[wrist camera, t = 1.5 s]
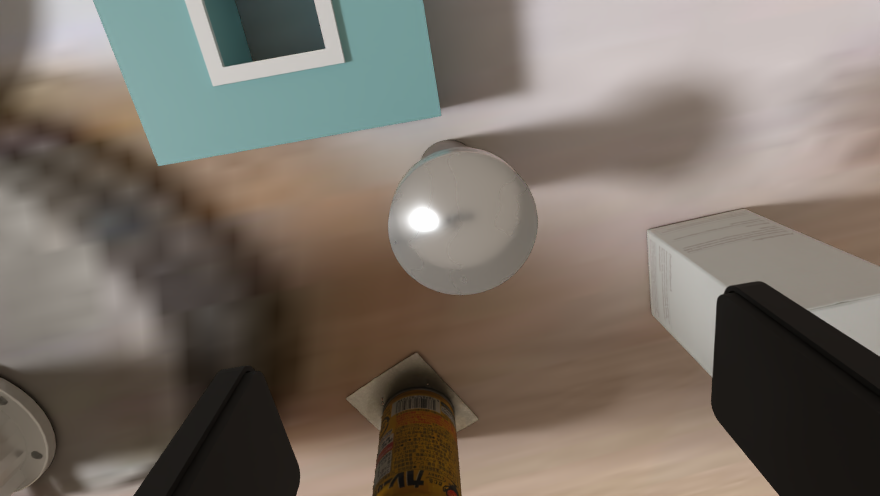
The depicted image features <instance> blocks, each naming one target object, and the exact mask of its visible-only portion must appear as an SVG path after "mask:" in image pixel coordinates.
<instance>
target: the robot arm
mask: <svg viewBox="0 0 880 496" xmlns="http://www.w3.org/2000/svg"><path fill="white" fill-rule="evenodd" d="M711 405H712V409H713V412H714V414H715V416H716V418H717V420H718V421H719V423H720V424H721V425H722V426H723V427H724V429H725V430H726V431H727V432H728V433H729V435H730V436H731V437H732V438H733V440H734V441H735V442H736V443H737V444H738V446H739V447H740V448H741V449H742V451H743V452H744V453H745V454H746V455H747V457H748V458H749V459H750V460H751V462H752V463H753V464H754V465H755V466H756V468H757V469H758V470H759V471H760V473H761V474H762V475H763V476H764V477H765V479H766V480H767V481H768V482H769V483H770V485H771V486H772V487H773V488H774V490H775V491H776V492H777V493H778V494H779V496H880V356H878V355H877V354H875V353H874V352H872V351H871V350H869V349H867V348H866V347H864V346H863V345H861V344H860V343H858V342H857V341H855V340H853V339H852V338H850V337H849V336H847V335H846V334H844V333H842V332H841V331H839V330H838V329H836V328H835V327H833V326H832V325H830V324H828V323H827V322H825V321H824V320H822V319H821V318H819V317H818V316H816V315H814V314H813V313H811V312H810V311H808V310H807V309H805V308H804V307H802V306H800V305H799V304H797V303H796V302H794V301H793V300H791V299H789V298H788V297H786V296H785V295H783V294H782V293H780V292H779V291H777V290H775V289H774V288H772V287H771V286H769V285H768V284H766V283H764V282H762V281H755V282H749V283H743V284H737V285H731V286H728V287H727V288H726V289H725V291H724V294H722V295H720V296H719V297H718V298H717V304H716V322H715V340H714V359H713V377H712V395H711ZM55 449H56V442H55V434H54V432H53V429H52V426H51V423H50V421H49V420H48V418H47V416H46V415H45V413H44V411H43V410H42V409H41V408H40V407H39V406H38V404H37V403H36V402H35V401H34V400H33V399H32V398H31V397H29V396H28V395H27V394H26V393H25V392H24V391H22V390H21V389H20V388H18V387H16V386H15V385H13V384H12V383H10V382H8V381H7V380H5V379H3V378H0V496H11V495H12V494H13V493H14V492H17V491H20V490H22V489H24V488H26V487H28V486H30V485H31V484H32V483H34V482H35V481H36V480H37V479H38V478H39V477H40V476H41V475H42V474H43V473H44V472H45V471H46V469H47V468H48V467H49V466H50V464H51V462H52V460H53V458H54V455H55ZM299 483H300V469H299V465H298V463H297V460H296V457H295V455H294V452H293V450H292V447H291V445H290V442H289V439H288V437H287V434H286V432H285V429H284V426H283V424H282V421H281V419H280V416H279V414H278V411H277V408H276V406H275V403H274V401H273V398H272V395H271V393H270V390H269V388H268V385H267V383H266V380H265V377H264V375H263V374H262V373H261V372H260V371H255V370H254V369H253V368H252V367H251V366H242V367H236V368H230V369H224V370H221V371H219V372H218V373H217V374H216V376H215V377H214V379H213V380H212V382H211V383H210V385H209V386H208V388H207V389H206V391H205V392H204V393H203V395H202V396H201V398H200V399H199V401H198V402H197V404H196V405H195V407H194V408H193V410H192V411H191V412H190V414H189V415H188V417H187V418H186V420H185V421H184V423H183V424H182V426H181V427H180V429H179V430H178V431H177V433H176V434H175V436H174V437H173V439H172V440H171V442H170V443H169V445H168V446H167V448H166V449H165V451H164V452H163V453H162V455H161V456H160V458H159V459H158V461H157V462H156V464H155V465H154V467H153V468H152V470H151V471H150V472H149V474H148V475H147V477H146V478H145V480H144V481H143V483H142V484H141V486H140V487H139V489H138V490H137V491H136V493H135V494H134V496H296V494H297V490H298V487H299Z"/></svg>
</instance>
